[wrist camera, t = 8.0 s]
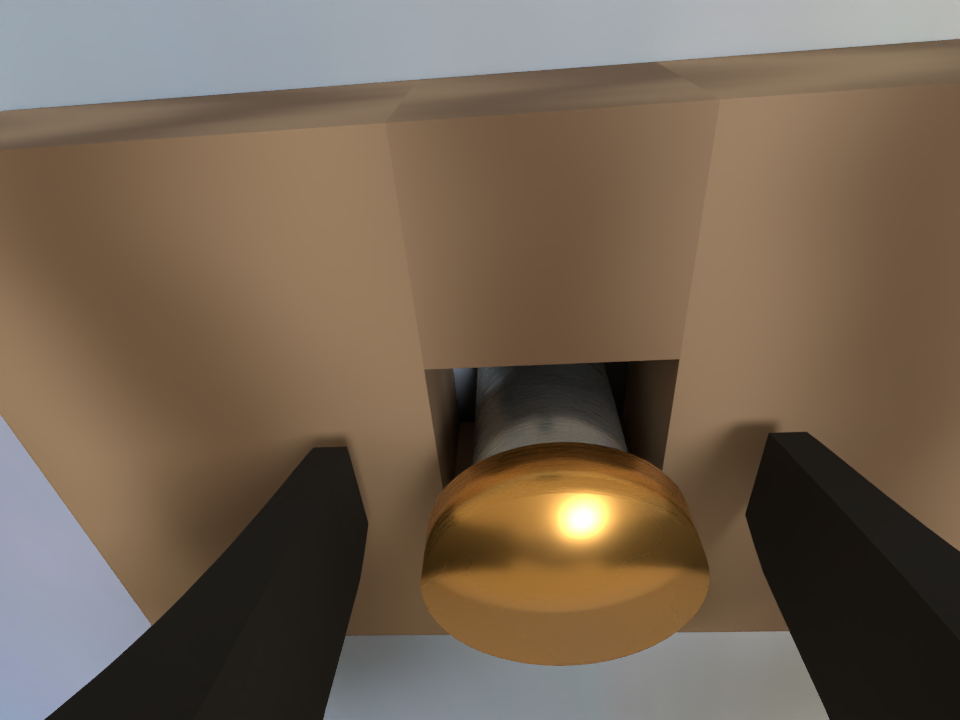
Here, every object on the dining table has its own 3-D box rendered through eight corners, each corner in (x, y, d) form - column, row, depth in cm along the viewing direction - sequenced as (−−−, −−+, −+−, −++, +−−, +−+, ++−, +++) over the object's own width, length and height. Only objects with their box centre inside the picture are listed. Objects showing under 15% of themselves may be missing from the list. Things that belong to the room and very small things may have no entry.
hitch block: (1141, 25, 9) (1428, 49, 6) (893, 511, 16) (979, 629, 13) (3, 111, 11) (-180, 162, 8) (216, 527, 17) (160, 637, 15)
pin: (659, 306, 13) (764, 521, 8) (598, 448, 15) (646, 679, 10) (467, 269, 12) (445, 469, 7) (436, 420, 15) (404, 646, 10)
